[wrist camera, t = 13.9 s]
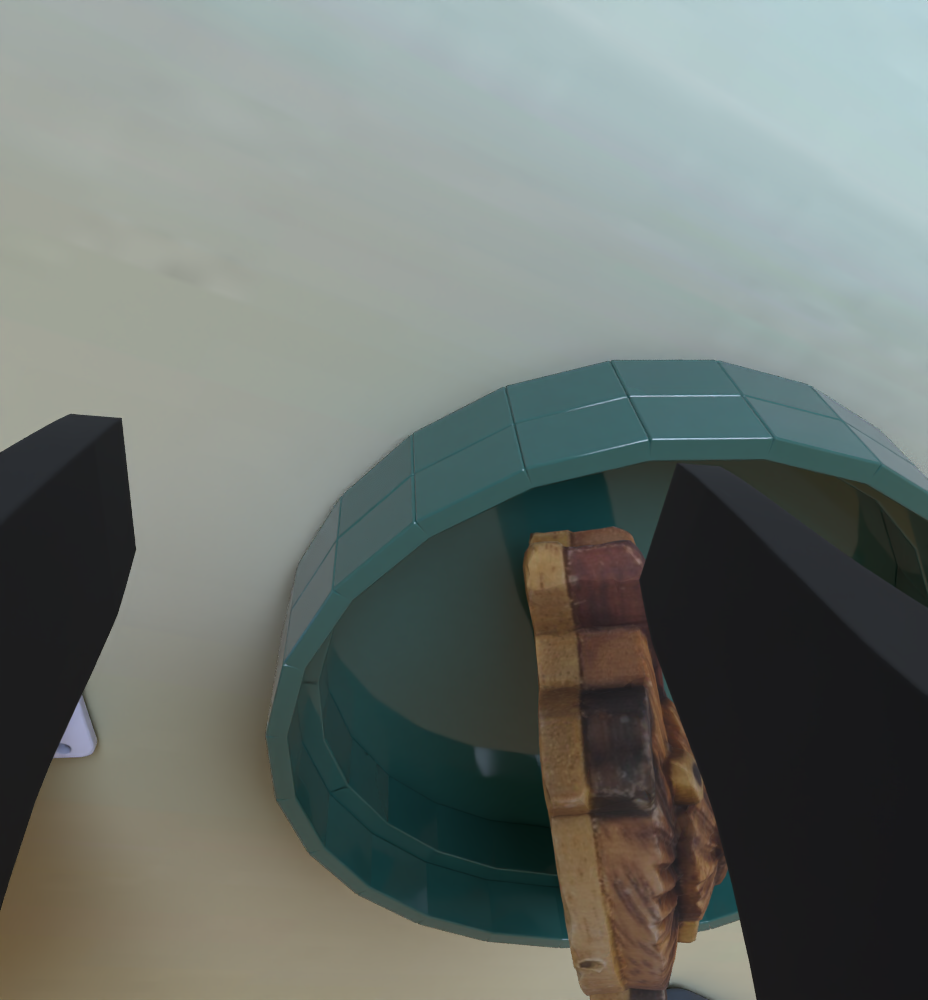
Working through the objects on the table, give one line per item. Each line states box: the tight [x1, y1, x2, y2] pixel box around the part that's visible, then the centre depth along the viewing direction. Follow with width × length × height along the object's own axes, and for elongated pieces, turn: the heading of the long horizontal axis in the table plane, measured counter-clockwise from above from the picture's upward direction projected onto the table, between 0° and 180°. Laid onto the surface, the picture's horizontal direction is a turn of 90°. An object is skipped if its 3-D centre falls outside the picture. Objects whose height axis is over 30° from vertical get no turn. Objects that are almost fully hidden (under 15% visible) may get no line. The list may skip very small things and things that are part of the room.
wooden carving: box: [523, 526, 728, 1000], centre depth 22 cm, size 16×5×10 cm, turn 16°
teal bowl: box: [265, 360, 928, 948], centre depth 25 cm, size 21×21×4 cm
